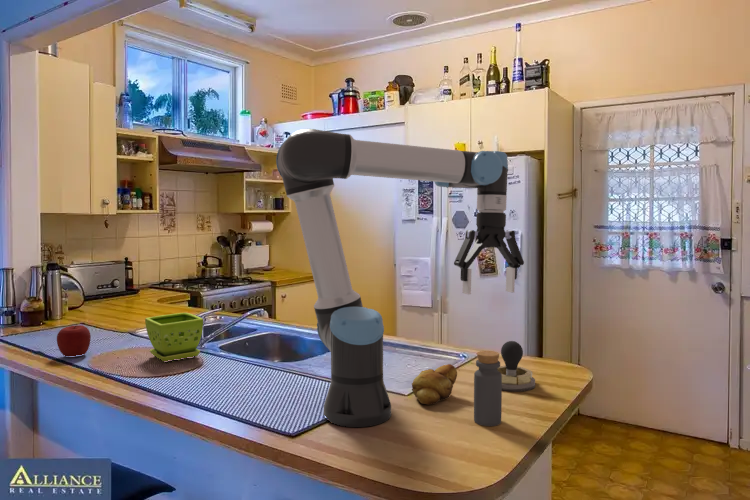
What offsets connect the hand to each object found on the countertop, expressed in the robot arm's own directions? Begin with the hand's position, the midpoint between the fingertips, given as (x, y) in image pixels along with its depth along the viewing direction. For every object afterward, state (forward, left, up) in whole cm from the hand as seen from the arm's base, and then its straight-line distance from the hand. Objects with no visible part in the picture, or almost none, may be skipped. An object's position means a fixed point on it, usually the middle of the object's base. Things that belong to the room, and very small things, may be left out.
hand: (488, 292), depth 145 cm
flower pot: (-73, +63, -24) cm, 100 cm away
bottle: (-16, -22, -24) cm, 37 cm away
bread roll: (-20, -4, -24) cm, 32 cm away
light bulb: (+4, -4, -23) cm, 23 cm away
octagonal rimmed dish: (+5, -4, -24) cm, 25 cm away
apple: (-102, +78, -24) cm, 131 cm away
